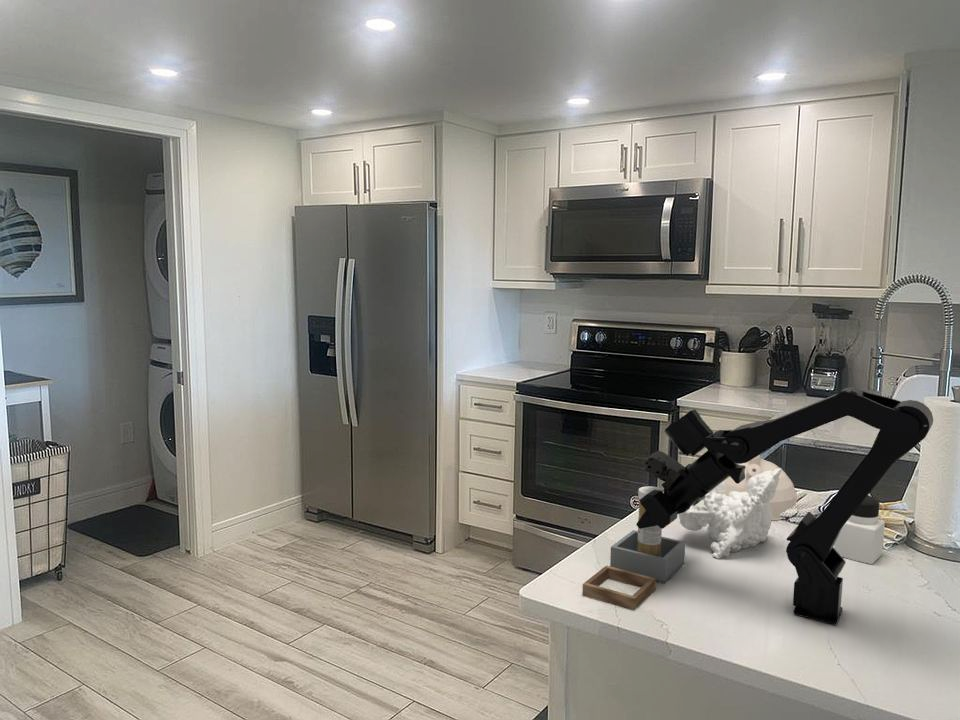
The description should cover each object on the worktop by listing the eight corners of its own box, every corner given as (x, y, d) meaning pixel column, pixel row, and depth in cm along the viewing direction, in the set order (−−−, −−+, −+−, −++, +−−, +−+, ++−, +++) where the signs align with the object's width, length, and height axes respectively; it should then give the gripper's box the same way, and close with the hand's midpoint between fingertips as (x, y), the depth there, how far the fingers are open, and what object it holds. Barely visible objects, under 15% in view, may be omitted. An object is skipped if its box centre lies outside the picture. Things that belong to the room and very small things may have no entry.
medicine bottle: (882, 554, 144) (887, 496, 142) (872, 565, 139) (877, 505, 137) (844, 545, 149) (848, 488, 147) (832, 555, 143) (837, 496, 142)
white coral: (789, 489, 156) (779, 459, 140) (782, 583, 149) (770, 562, 133) (700, 480, 165) (681, 451, 150) (690, 568, 158) (668, 547, 142)
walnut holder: (655, 589, 128) (656, 578, 128) (634, 610, 120) (634, 598, 120) (605, 575, 133) (606, 565, 133) (582, 594, 125) (582, 584, 125)
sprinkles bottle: (638, 552, 140) (639, 484, 138) (662, 554, 138) (664, 486, 137) (635, 561, 135) (637, 491, 134) (660, 564, 134) (662, 493, 132)
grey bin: (684, 564, 139) (685, 541, 138) (664, 584, 130) (665, 560, 129) (632, 551, 144) (633, 530, 144) (610, 569, 136) (610, 546, 135)
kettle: (704, 515, 166) (708, 438, 164) (709, 489, 186) (713, 420, 183) (800, 527, 159) (805, 447, 157) (795, 499, 178) (800, 427, 176)
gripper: (691, 431, 139) (636, 477, 147) (652, 450, 124) (593, 500, 132) (731, 477, 135) (672, 522, 143) (695, 503, 120) (632, 551, 128)
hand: (643, 522), depth 137 cm, fingers closed on sprinkles bottle, 4 cm apart
